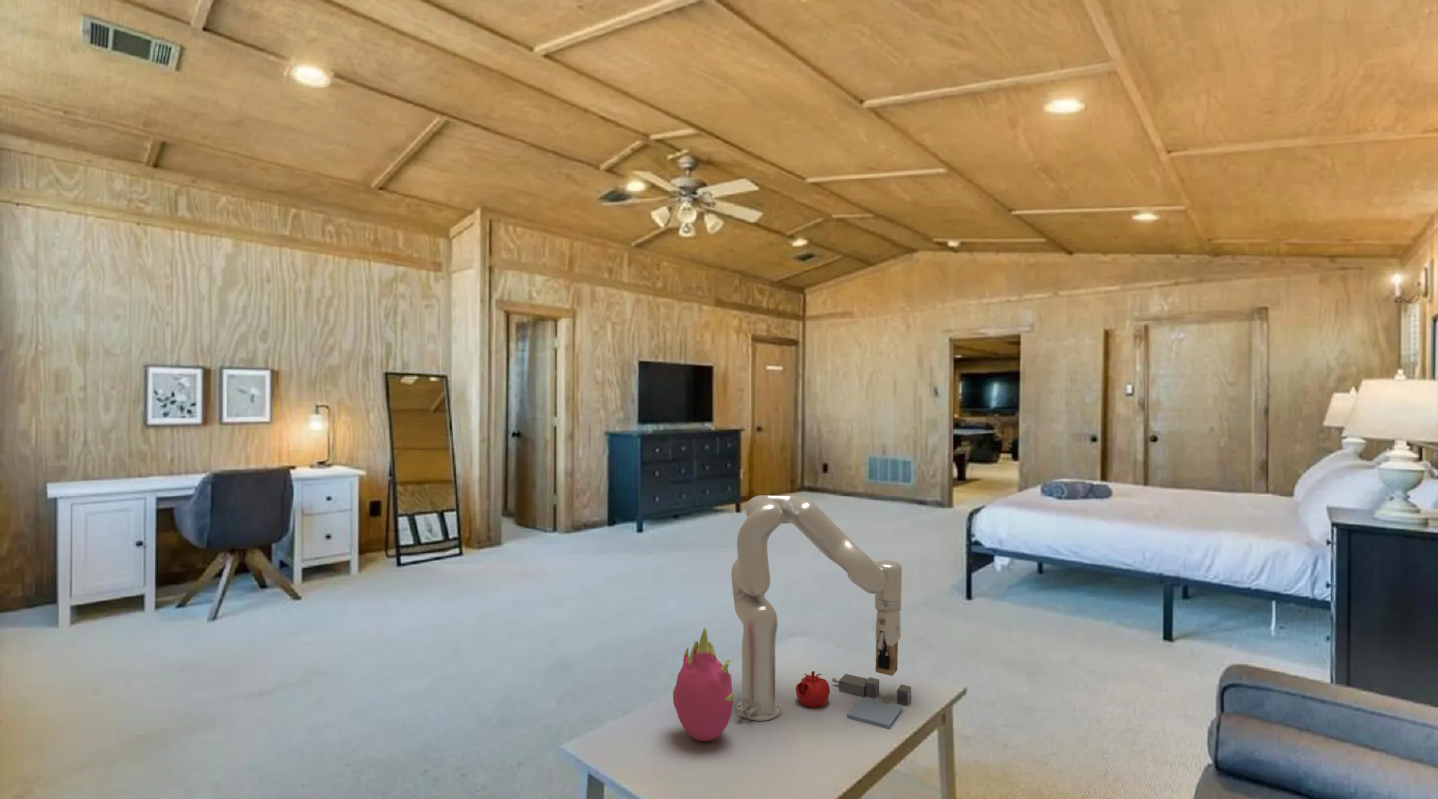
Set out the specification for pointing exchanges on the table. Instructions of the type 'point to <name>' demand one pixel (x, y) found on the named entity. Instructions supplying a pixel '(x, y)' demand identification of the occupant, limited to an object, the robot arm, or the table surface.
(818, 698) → the pomegranate
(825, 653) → the table surface
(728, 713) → the pink dragon fruit
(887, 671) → the walnut peg
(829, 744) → the table surface
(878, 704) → the pad
